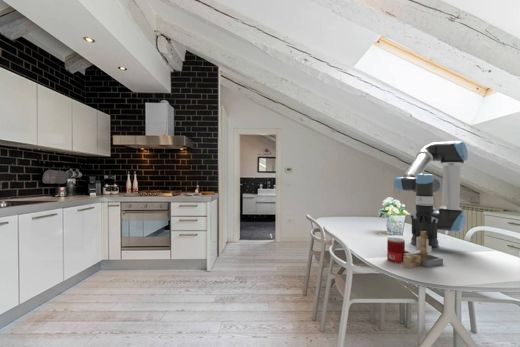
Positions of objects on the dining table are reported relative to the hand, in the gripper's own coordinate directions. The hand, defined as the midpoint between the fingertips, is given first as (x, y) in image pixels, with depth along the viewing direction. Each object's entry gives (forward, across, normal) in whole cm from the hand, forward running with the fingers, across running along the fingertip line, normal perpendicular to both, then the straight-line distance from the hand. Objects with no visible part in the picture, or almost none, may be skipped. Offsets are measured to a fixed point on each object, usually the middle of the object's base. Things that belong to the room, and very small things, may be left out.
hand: (423, 250), depth 142 cm
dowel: (+5, 0, 0) cm, 5 cm away
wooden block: (+6, +2, -11) cm, 13 cm away
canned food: (+6, -7, -11) cm, 15 cm away
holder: (+6, -11, -1) cm, 13 cm away
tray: (+6, 0, 0) cm, 6 cm away
